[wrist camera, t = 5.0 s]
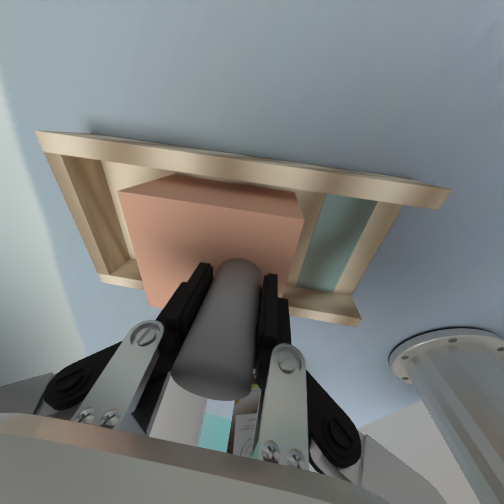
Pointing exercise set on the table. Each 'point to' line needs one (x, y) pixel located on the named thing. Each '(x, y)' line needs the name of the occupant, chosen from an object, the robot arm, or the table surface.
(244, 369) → the salmon block with knob
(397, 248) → the table surface
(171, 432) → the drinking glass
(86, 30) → the table surface
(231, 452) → the coffee box
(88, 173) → the bay
